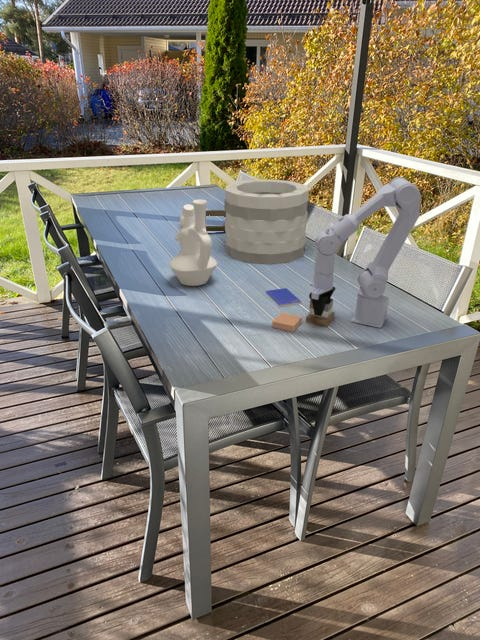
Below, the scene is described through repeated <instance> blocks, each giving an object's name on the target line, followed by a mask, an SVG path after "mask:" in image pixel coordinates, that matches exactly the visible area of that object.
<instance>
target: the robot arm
mask: <svg viewBox="0 0 480 640" xmlns="http://www.w3.org/2000/svg"><path fill="white" fill-rule="evenodd" d="M421 198H422V195H421V192H420V190H419V188H418V187H417V185H416V184H414V183H411V181H408V179H406V178H405V177H403V176H397V177H394V178H392V179H391V180H390V181H389V182H388V183H385V184H384V185H383V186H382V187H381V188H380V189H379V191H377V192H376V193H375V194H374V195H373V196H372V197H371V198H369V199H368V200H367V201H366V202H364V204H362V206H360V207H359V208H358V209H357V210H356V211H355V212H353V213H352V214H350V213H349V214H348V213H347V214H345V215H340V216H339V217H338V220H337V221H336V222H335V223H333V224H332V225H331V226H330V227H328V226H327V227H326V228H325V231H322V230H321V231H320V232H319V233H318V234H317V235H316V237H315V238H314V242H315V245H316V252H315V254H316V255H315V261H314V275H313V281H310V283H309V286H310V287H312V292H310V293H309V295H308V297H309V300H311V301H312V304H313V309H314V314H315V315H318V316H321V315H322V313H323V308H324V305H325V302H326V300H327V298H330V299H332V296H333V294H334V292H335V290H336V287H335V286H334V274H335V261H336V257H335V256H336V252H337V251H338V249H339V246H340V245H341V244H342V243H343V242H345V241H346V240H347V239H348V238H350V237H351V236H352V235H354V234H355V233H356V232H358V231H359V229H360V224H361V223H362V222H364V221H366V220H367V219H368V218H369V217H371V216H373V215H374V214H375V213H376V212H378V211H380V210H381V209H382V208H384V207H385V208H386V207H389V208H390V207H396V209H397V212H398V215H397V218H396V219H395V221H394V223H393V224H392V226H391V228H390V230H389V232H388V233H387V235H386V237H385V239H384V241H383V242H382V244H381V246H380V248H379V249H378V251H377V253H376V255H375V257H374V258H373V261H371V262H369V263H368V264H367V266H366V267H365V268H364V269H363V270H362V271H360V272H359V274H358V275H357V282H358V284H359V286H360V287H359V289H358V290H357V295H356V297H357V299H356V307H355V314H354V315H353V317H352V318H351V320H350V321H351V322H352V323H356V324H361V325H365V326H369V327H375V328H379V329H381V328H383V325H384V324H385V322H386V320H387V314H388V310H389V309H388V308H389V303H390V302H389V300H390V298H389V297H388V296H385V295H383V294H384V293H385V290H386V284H387V282H388V279H389V270H390V268H391V266H392V265H393V263H394V262H395V260H396V258H397V256H398V255H399V253H400V251H401V249H402V247H403V246H404V244H405V243H406V240H407V238H408V236H409V235H410V233H411V232H412V231H413V228H414V226H415V224H416V223H417V221H418V219H420V212H421V211H420V205H421V204H420V201H421Z"/></svg>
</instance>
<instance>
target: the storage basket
mask: <svg viewBox="0 0 480 640" xmlns="http://www.w3.org/2000/svg"><path fill="white" fill-rule="evenodd" d="M309 192H310V189H309V188H308V187H307V186H306V184H303V183H299V182H295V181H291V180H282V179H246V180H239V181H234V182H232V183H230V184H227V185H225V199H224V200H223V201H224V203H223V204H224V211H226V220H225V232H224V233H225V241H224V252H225V251H226V252H227V253H228V254H227V253H226V252H225V253H226V254H227V255H228V256H229V258H231V259H232V260H236V261H239V262H243V263H245V264H246V263H247V264H255V265H268V266H271V265H279V264H288V263H292V262H294V261H296V260H299V259H301V258H303V256H304V254H303V253H305V250H304V249H305V248H306V244H307V232H306V230H307V229H306V228H307V223H308V202H309V195H310V193H309Z"/></svg>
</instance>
